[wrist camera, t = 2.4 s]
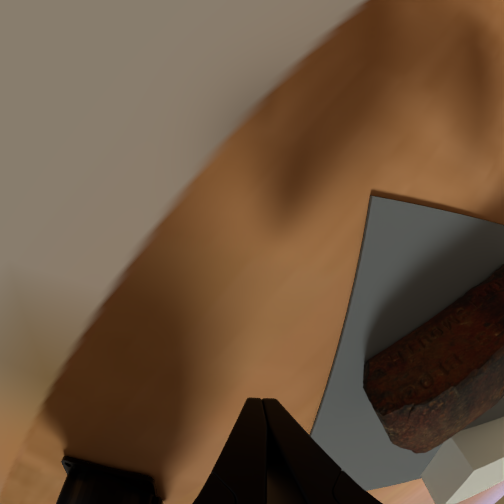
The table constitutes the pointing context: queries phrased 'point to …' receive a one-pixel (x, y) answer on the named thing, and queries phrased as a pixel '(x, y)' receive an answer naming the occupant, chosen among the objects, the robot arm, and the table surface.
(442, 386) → the brick
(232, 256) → the table surface
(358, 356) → the grey mat
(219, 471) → the robot arm
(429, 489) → the block
